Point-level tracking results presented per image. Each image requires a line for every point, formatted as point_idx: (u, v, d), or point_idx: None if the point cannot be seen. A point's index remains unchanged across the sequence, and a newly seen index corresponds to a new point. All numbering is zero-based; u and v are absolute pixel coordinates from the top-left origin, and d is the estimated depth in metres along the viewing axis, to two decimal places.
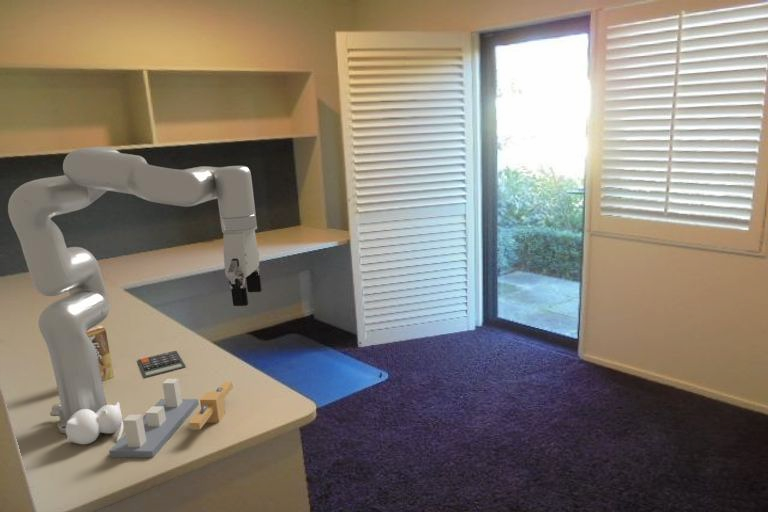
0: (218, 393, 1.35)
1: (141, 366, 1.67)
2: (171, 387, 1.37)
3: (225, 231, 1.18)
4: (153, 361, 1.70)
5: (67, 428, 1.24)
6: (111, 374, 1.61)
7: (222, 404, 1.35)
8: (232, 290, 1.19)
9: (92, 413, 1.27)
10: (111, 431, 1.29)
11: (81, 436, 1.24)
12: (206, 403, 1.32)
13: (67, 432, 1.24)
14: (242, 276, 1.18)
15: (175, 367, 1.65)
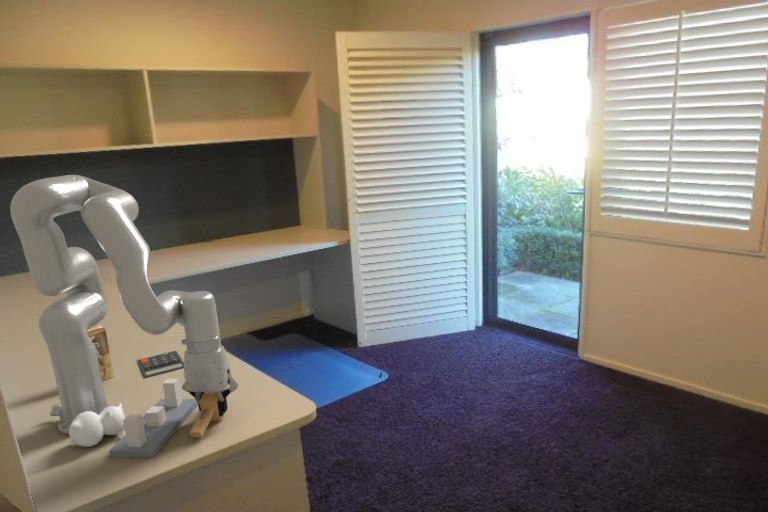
0: (216, 392, 1.34)
1: (141, 366, 1.67)
2: (171, 387, 1.37)
3: (213, 351, 1.29)
4: (153, 361, 1.70)
5: (71, 431, 1.23)
6: (111, 374, 1.61)
7: None
8: (220, 403, 1.33)
9: (95, 415, 1.26)
10: (115, 432, 1.28)
11: (85, 438, 1.23)
12: (205, 405, 1.32)
13: (71, 435, 1.23)
14: None
15: (175, 367, 1.65)
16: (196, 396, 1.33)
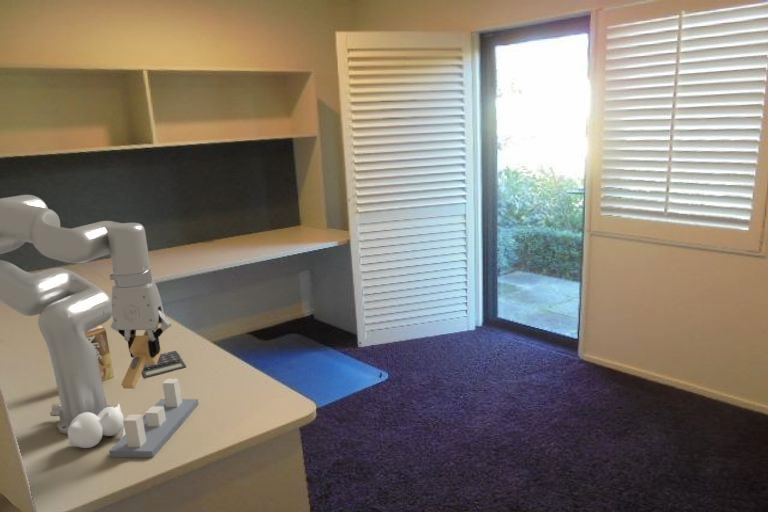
0: (148, 338, 1.26)
1: None
2: (171, 387, 1.37)
3: (142, 285, 1.21)
4: None
5: (70, 432, 1.22)
6: (111, 374, 1.61)
7: None
8: (151, 343, 1.25)
9: (94, 416, 1.25)
10: (114, 433, 1.28)
11: (85, 439, 1.22)
12: (137, 352, 1.25)
13: (70, 436, 1.22)
14: None
15: (175, 367, 1.65)
16: (125, 335, 1.25)
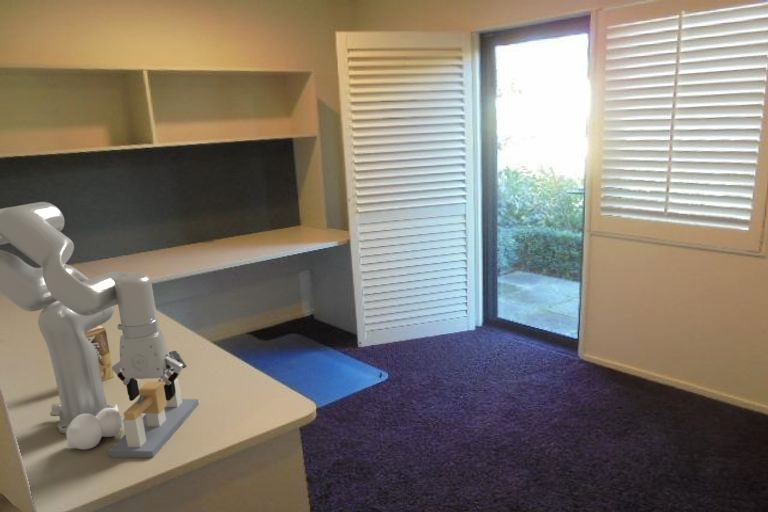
0: (159, 383, 1.30)
1: None
2: None
3: (150, 335, 1.24)
4: None
5: (69, 434, 1.22)
6: (111, 374, 1.61)
7: (163, 395, 1.31)
8: (167, 386, 1.27)
9: (93, 417, 1.25)
10: (113, 434, 1.27)
11: (85, 440, 1.22)
12: (145, 393, 1.28)
13: (69, 438, 1.22)
14: (169, 369, 1.29)
15: None
16: (125, 379, 1.28)
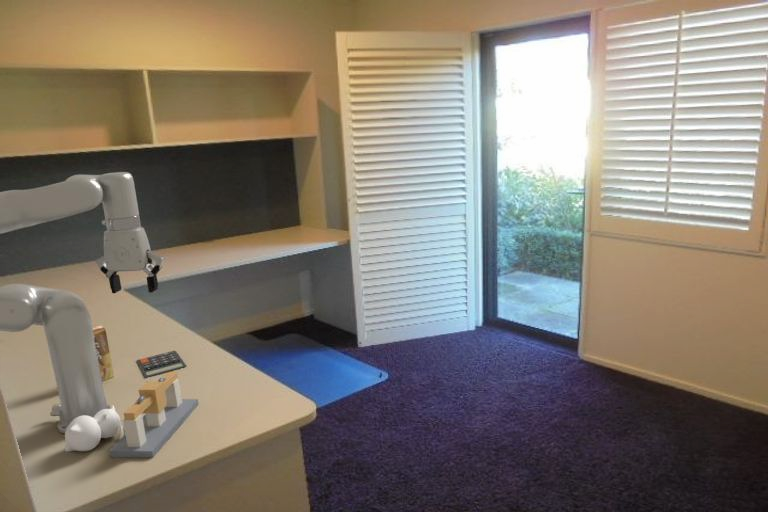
0: (159, 383, 1.30)
1: (141, 366, 1.67)
2: (171, 387, 1.37)
3: (132, 229, 1.32)
4: (153, 361, 1.70)
5: (69, 436, 1.21)
6: (111, 374, 1.61)
7: (163, 395, 1.31)
8: (149, 278, 1.35)
9: (92, 418, 1.24)
10: (112, 434, 1.27)
11: (85, 442, 1.21)
12: (145, 393, 1.28)
13: (69, 440, 1.21)
14: (151, 264, 1.37)
15: (176, 367, 1.65)
16: (108, 272, 1.36)
